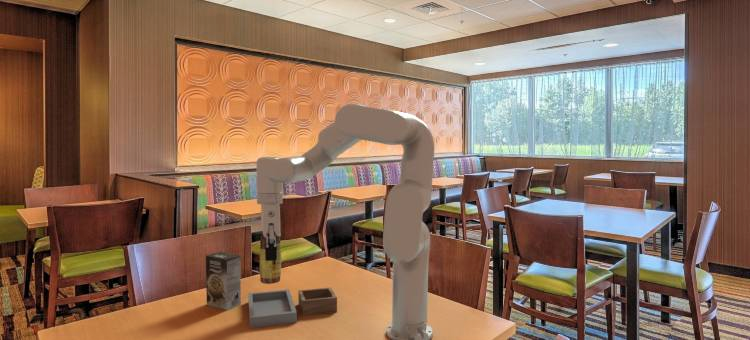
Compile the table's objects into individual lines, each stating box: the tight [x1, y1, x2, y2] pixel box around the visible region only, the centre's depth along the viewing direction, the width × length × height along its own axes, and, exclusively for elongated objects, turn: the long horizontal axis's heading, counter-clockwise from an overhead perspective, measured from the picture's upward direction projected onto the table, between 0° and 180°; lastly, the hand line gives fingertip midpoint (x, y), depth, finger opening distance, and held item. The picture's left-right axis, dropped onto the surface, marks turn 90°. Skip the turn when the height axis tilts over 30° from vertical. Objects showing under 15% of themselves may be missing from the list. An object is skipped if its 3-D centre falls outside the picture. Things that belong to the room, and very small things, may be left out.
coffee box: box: [205, 251, 242, 311], centre depth 139 cm, size 9×6×16 cm
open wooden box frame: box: [298, 287, 338, 317], centre depth 137 cm, size 10×10×4 cm
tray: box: [247, 288, 298, 329], centre depth 134 cm, size 20×13×3 cm, turn 17°
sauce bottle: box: [259, 232, 282, 285], centre depth 133 cm, size 6×6×20 cm
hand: (270, 256), depth 133 cm, fingers closed on sauce bottle, 6 cm apart
